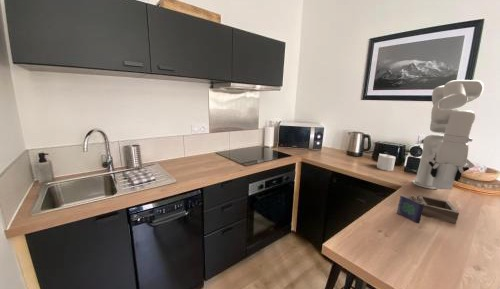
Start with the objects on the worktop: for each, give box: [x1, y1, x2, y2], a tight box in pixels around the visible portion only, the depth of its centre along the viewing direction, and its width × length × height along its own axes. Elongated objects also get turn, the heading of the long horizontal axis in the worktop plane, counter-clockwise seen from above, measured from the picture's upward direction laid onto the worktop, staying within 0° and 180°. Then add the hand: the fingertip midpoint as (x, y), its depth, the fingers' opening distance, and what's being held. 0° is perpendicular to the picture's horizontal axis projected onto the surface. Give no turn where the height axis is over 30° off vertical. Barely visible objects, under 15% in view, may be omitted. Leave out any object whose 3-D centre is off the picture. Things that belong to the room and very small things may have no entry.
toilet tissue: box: [376, 153, 397, 172], centre depth 159 cm, size 11×12×10 cm
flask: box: [396, 194, 424, 224], centre depth 92 cm, size 9×3×11 cm, turn 24°
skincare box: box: [432, 163, 458, 190], centre depth 93 cm, size 6×4×12 cm
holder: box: [416, 194, 460, 224], centre depth 97 cm, size 12×12×5 cm
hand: (444, 178), depth 94 cm, fingers closed on skincare box, 7 cm apart
